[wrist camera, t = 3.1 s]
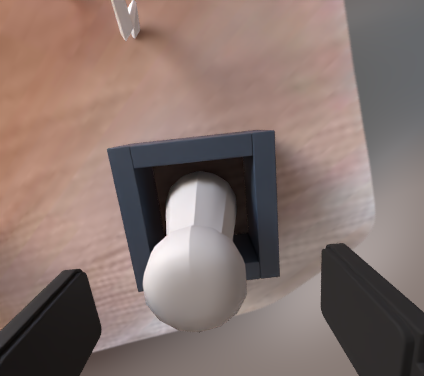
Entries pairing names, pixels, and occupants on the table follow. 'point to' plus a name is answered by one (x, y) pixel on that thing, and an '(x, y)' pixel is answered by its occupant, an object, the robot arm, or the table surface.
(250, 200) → the holder
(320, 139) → the table surface
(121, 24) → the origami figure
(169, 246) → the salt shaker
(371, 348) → the robot arm
